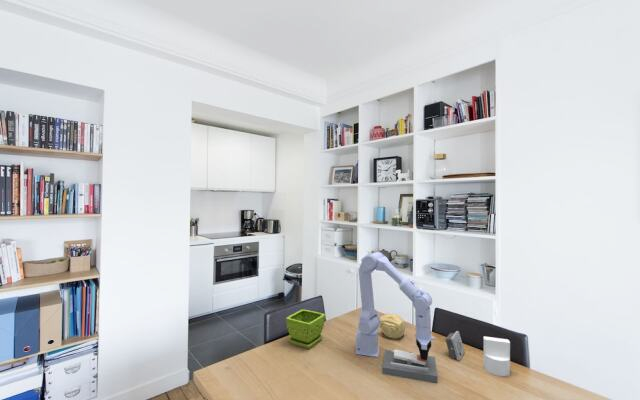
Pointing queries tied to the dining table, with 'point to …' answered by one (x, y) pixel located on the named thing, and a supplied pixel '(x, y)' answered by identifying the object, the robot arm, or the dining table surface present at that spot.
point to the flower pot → (305, 327)
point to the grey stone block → (455, 345)
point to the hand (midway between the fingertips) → (424, 359)
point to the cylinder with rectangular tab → (497, 356)
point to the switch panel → (410, 368)
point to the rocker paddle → (408, 356)
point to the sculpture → (392, 325)
